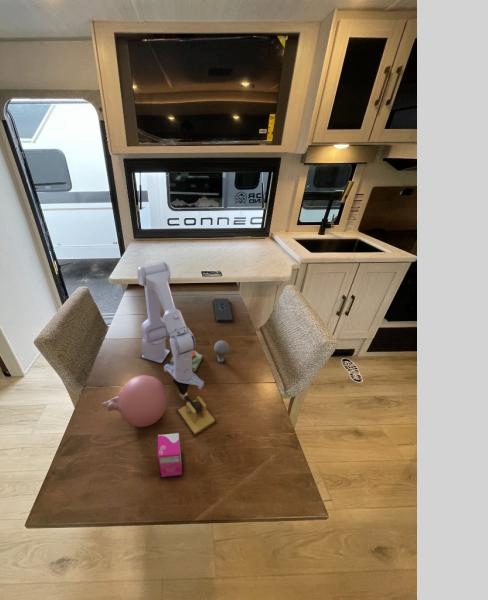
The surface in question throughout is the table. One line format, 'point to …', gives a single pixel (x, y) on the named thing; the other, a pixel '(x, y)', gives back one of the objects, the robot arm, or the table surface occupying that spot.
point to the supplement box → (169, 455)
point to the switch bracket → (196, 416)
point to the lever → (191, 402)
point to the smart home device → (223, 310)
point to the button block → (194, 361)
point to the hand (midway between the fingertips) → (183, 392)
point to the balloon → (140, 401)
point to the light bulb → (221, 350)
